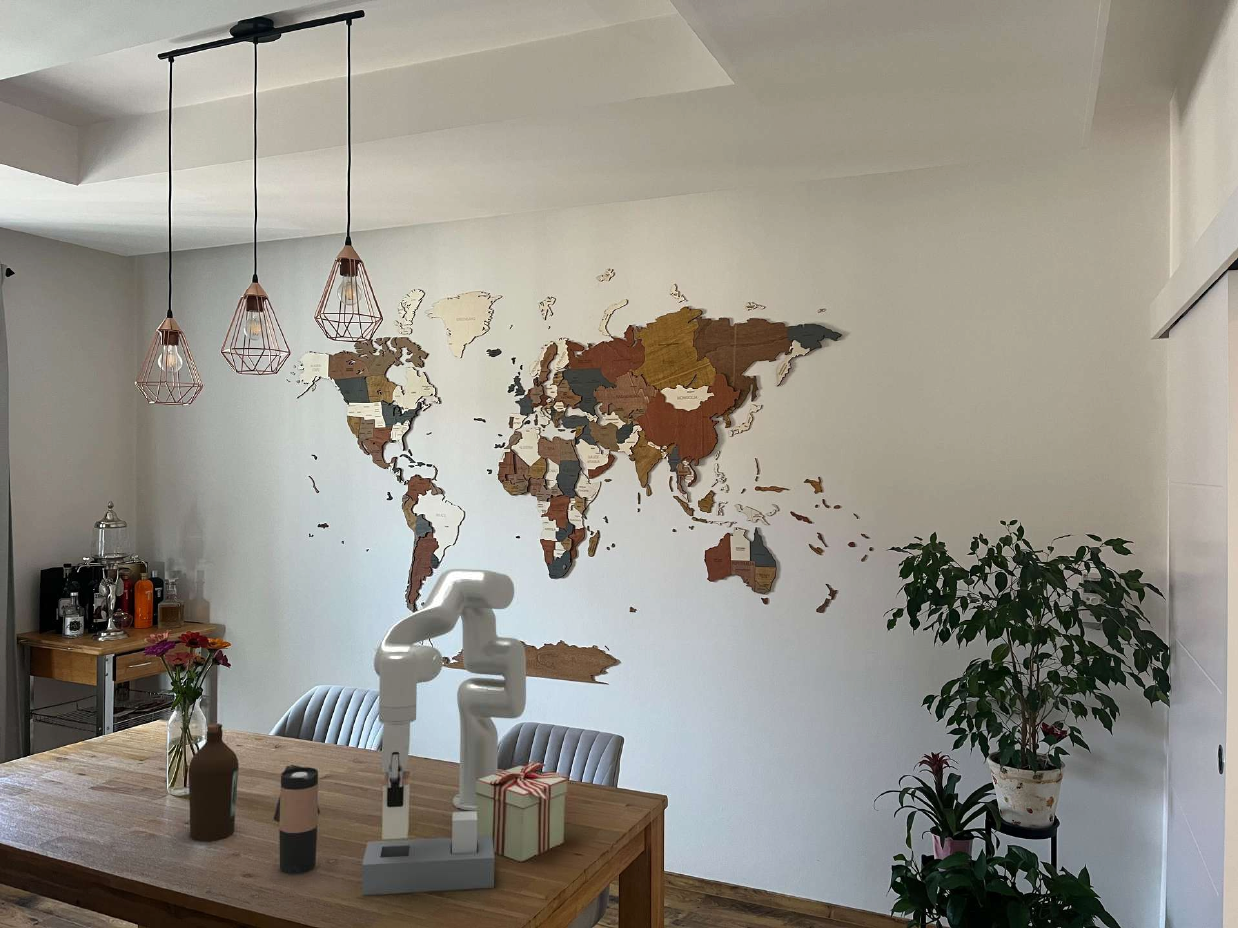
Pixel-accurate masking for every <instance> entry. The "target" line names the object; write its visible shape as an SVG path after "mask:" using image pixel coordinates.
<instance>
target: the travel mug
mask: <svg viewBox="0 0 1238 928" xmlns="http://www.w3.org/2000/svg"><path fill="white" fill-rule="evenodd" d="M279 794H280V795H279V797H280V821H279V827H278V828H279V829H278V831H279V870H280V872H282V873H283V874H287V875H300V874H304V873H308V872H310V871H312V870H314V869H315V867H316V860H317V859H316V858H317V841H318V839H317V837H318V818H319V817H318V816H319V814H318V807H319V804H318V803H319V800H318V799H319V798H318V796H319V771H318V769H316V768H314V767H309V766H308V767H307V766H303V767H302V766H299V768H292V769H288V770H286V771H285V770H283V772H281V774H280V793H279Z"/></svg>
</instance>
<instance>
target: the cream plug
mask: <svg viewBox="0 0 1238 928" xmlns="http://www.w3.org/2000/svg"><path fill="white" fill-rule="evenodd" d="M388 773H389V771H387V772H385V773H383V776H382V777H383V778H382V815H381V816H382V820H381V821H382V823H381V825H382V827H381V830H382V831H381V840H401V839H408V835H409V823H410V777H411V771H410V770H406V771H404V772H403V778H402V786H404V791H403V806H402V807H387V787H388V778H389V774H388ZM398 776H399V777H400V774H398Z"/></svg>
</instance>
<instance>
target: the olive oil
mask: <svg viewBox="0 0 1238 928" xmlns="http://www.w3.org/2000/svg"><path fill="white" fill-rule="evenodd" d="M206 728H207V730H206V741H205V743H204V744H203V745H202V746H201V747H200V748H199V749H198V751H197V752H196V753H194V755H193V757H192V758H191V760H190V762H189V765H188V769H187V770H188V771H187V772H188V793H189V795H188V796H189V837H190V839H191V840H193V841H197V842H213V841H214V842H215V841H219V840H223V839H227V838H228V837H230V836H231V835H233V833H234V832H235V826H236V825H235V824H236V822H235V820H236V809H237V796H238V795H237V792H238V778H239V766H240V765H239V760H238V757H237V753H235V751H234V750H233V749H231V747H229V746H228V745H227V744H226V743H225V742H224V741H223V729H222V728H223V724H222V723H210V724H208V725H207V727H206Z"/></svg>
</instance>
